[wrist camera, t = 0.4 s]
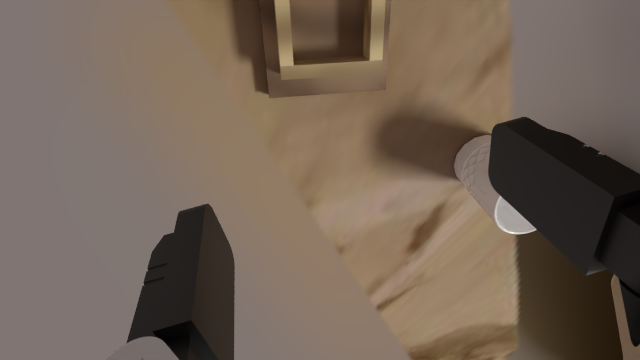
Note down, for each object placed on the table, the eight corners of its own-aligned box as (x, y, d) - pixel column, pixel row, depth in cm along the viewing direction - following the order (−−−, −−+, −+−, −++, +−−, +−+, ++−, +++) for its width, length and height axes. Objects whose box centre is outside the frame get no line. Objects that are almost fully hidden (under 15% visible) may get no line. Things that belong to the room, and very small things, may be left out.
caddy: (251, -72, 29) (250, -78, 26) (391, -75, 31) (406, -81, 28) (268, 94, 36) (269, 105, 33) (382, 86, 38) (393, 96, 34)
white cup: (436, 164, 43) (479, 210, 35) (487, 116, 41) (546, 152, 33) (472, 197, 47) (519, 246, 38) (520, 154, 45) (583, 196, 36)
